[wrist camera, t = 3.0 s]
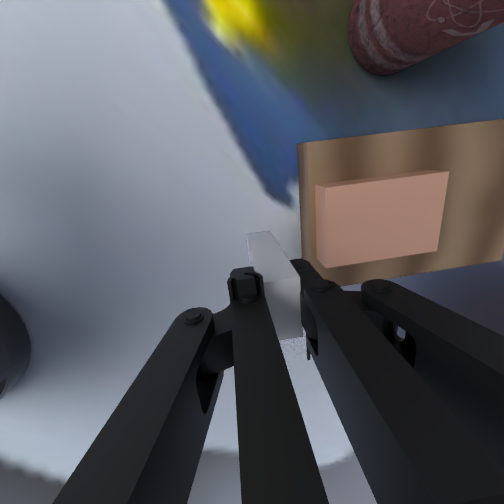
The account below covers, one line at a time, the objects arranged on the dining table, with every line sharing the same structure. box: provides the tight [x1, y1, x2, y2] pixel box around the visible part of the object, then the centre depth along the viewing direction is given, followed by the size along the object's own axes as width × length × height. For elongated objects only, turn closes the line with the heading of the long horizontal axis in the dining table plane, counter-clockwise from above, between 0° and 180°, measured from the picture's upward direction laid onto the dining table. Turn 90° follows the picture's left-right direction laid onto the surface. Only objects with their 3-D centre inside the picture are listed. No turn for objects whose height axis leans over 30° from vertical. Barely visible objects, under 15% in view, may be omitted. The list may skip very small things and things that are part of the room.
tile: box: [315, 170, 449, 268], centre depth 20 cm, size 9×6×2 cm, turn 97°
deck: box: [297, 119, 504, 286], centre depth 22 cm, size 18×12×2 cm, turn 97°
